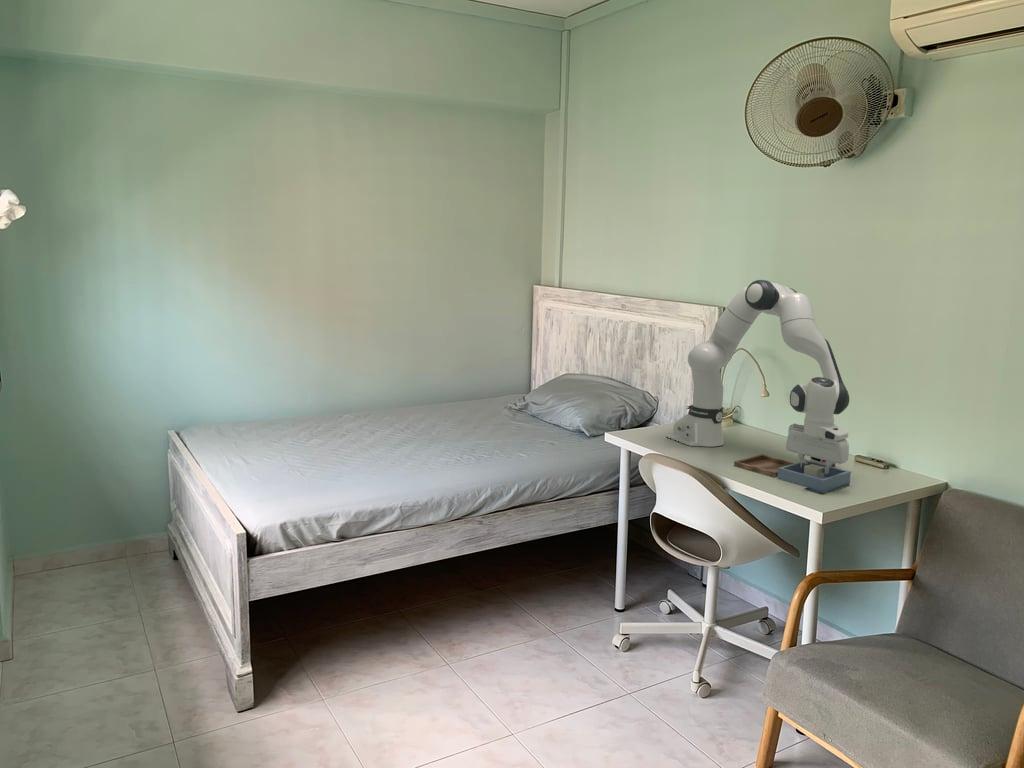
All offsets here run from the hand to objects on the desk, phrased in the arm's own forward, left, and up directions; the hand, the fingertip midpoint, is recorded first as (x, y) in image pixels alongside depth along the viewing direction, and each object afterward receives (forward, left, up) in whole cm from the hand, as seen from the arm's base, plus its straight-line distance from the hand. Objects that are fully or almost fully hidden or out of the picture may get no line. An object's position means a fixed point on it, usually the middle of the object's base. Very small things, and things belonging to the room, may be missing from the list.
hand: (814, 470), depth 256 cm
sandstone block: (0, 0, -3) cm, 3 cm away
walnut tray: (-17, 0, -4) cm, 18 cm away
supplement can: (-8, +19, -4) cm, 21 cm away
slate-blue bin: (0, 0, -4) cm, 4 cm away
